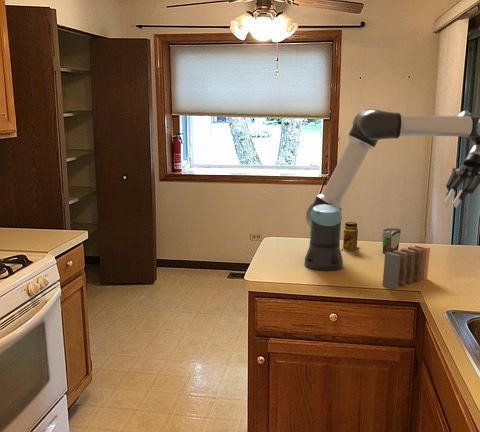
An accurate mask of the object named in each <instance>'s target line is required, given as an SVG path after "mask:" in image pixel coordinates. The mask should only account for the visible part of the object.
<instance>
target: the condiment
mask: <svg viewBox="0 0 480 432" xmlns="http://www.w3.org/2000/svg"><path fill="white" fill-rule="evenodd" d="M344 225H345V226H344V229H343V238H342V239H343V241H342V247H343V249H344V250H342V248H340V251H345V252H357V253H358V251H359V250H360V248H361V246H358V235H359V234H358V232H359V229H358V223H357V222H353V221H347V222H345V224H344Z"/></svg>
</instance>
